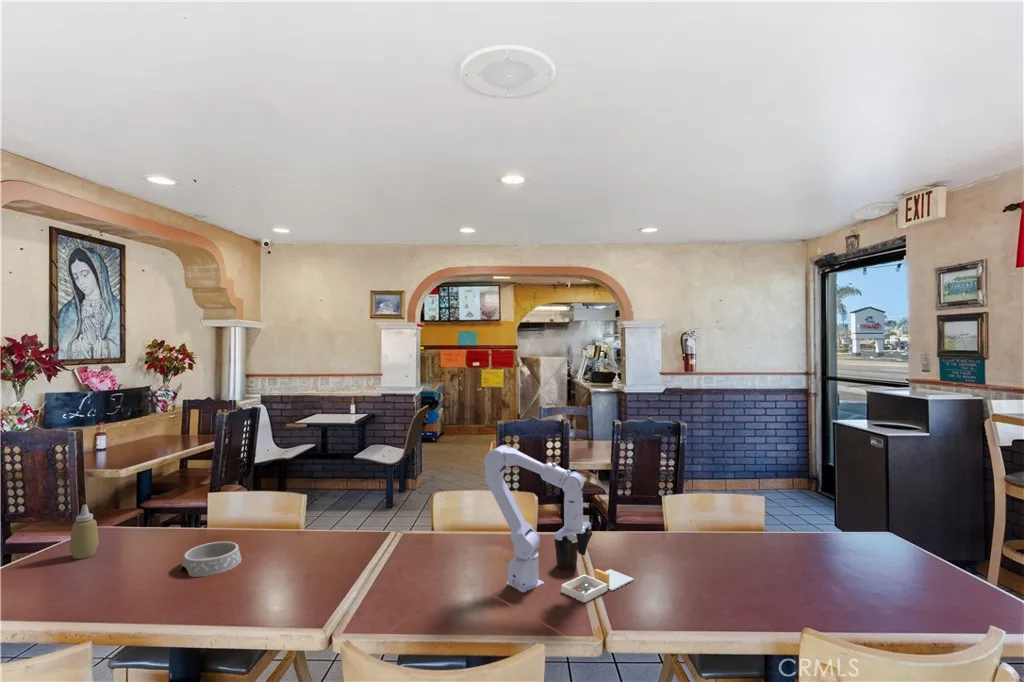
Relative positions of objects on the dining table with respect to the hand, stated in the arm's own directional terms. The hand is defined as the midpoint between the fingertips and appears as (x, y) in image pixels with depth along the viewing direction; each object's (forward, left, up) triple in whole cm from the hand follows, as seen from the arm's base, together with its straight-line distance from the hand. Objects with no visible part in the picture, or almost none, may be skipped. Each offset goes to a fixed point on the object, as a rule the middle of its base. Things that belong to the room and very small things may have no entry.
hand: (573, 557), depth 160 cm
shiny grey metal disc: (0, -4, -10) cm, 11 cm away
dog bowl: (-78, +94, -11) cm, 123 cm away
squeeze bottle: (-110, +131, -11) cm, 172 cm away
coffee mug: (+13, +13, -11) cm, 21 cm away
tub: (+2, -3, -10) cm, 11 cm away
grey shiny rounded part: (+4, -1, -10) cm, 11 cm away
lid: (+14, -4, -11) cm, 18 cm away
